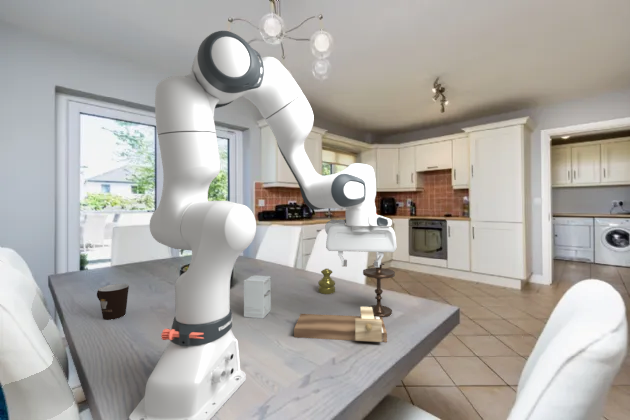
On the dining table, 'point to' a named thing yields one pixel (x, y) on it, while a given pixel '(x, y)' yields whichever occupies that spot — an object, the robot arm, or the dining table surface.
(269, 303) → the supplement box
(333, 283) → the gold metal tiered piece
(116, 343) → the dining table surface
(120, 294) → the coffee mug
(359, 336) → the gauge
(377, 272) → the candlestick
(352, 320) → the board
